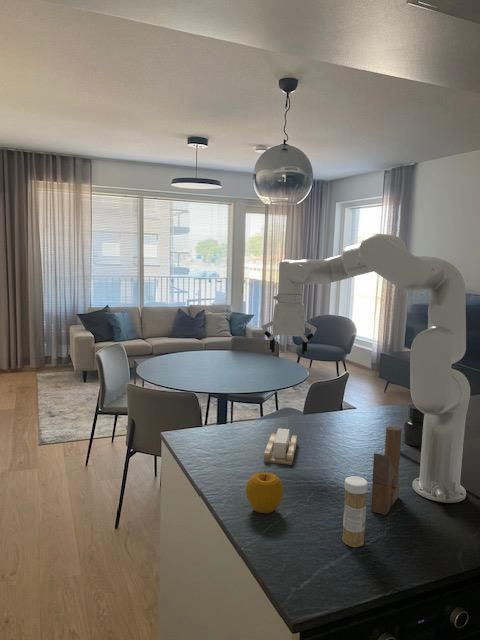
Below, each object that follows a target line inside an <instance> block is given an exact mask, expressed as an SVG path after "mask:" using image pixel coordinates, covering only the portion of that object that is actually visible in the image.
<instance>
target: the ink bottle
mask: <svg viewBox="0 0 480 640" xmlns="http://www.w3.org/2000/svg"><path fill="white" fill-rule="evenodd" d="M407 410H408V411H407V413H408V414H407V417H408V418H406V419H405V420H404V423H403V434H402V437H403V442H404V443H405V444H407V445H409V446H413V447H416V448H417V447H418V448H422V435H423V423H424V415H425V414H424V413H422V412H421V411H420V410H418V409H417V407H416V406H415V405H414V403H410V404H409V405H408V409H407Z"/></svg>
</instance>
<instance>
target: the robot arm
mask: <svg viewBox="0 0 480 640" xmlns="http://www.w3.org/2000/svg"><path fill="white" fill-rule="evenodd" d="M407 249H408V248H407V245H406V243H405V241H404V240H403V238H401V237H399V236H398V235H393V234H386V233H385V234H384V233H373V234H371V235H368V236H366V237H365V238H364V239H362V241H361V242H359V243H355V244H351V245H348V246H347V247H345V248H344V249H343V251H342V254H341V255H337V256H334V257H329V258H326V259H309V258H308V259H300V260H299V259H282V260H281V261H280V262H279V263H278V264H279V265H278V283H277V284H278V285H277V286H278V288H277V289H278V293H277V294H274V295H273V297H272V299H273V300H276V301H277V302H275V304H274V308H273V314H272V315H273V316H272V321H270V322H267V323H265V324H262V326H261V328H262V331H263V333H264V336H266V337H267V338H268V340H269V350H271V353H272V354H274V353H275V351H276V339H275V338H276V337H277V336H282V337H283V336H284V337H285V336H288V337H300V338H301V339H302V342H301V343H302V344H301V355H302V356H303V355H305V354H306V352H308V342H309V341H311V339H312V338H313V337H314V335H315V333H316V332H317V327H315V326H314V325H312V324H310V323H309V322H307V321H306V310H305V309H306V308H305V304H304V303H303V285H305V286H307V285H326V284H331V283H334V282H339V281H343V280H347V279H350V278H354V277H356V276H357V277H358V276H361V275H365V274H369V273H373V272H374V273H375V274H377V275H379V276H380V277H382V278H383V279H384V280H386V281H388V282H389V283H391V284H393V285H394V286H395V287H397V288H398V289H400V290H403V291H407V292H411V293H412V292H415V293H416V292H424V291H428V292H429V293H430V297H429V303H428V308H427V317H428V318H427V320H428V321H427V328H426V329H424V330H422V331H420V332H419V333H418V334H417V335H416V336H415V337H414V338H413V341H412V343H411V346H410V352H409V355H410V356H409V367H410V368H409V371H410V372H409V375H410V376H409V380H410V381H409V383H410V385H409V388H410V389H409V390H410V391H409V392H410V397H411V400H412V404H414V405H415V406H416V407H417V409H418V410H420V411H421V412H422V413H424V414H425V415H424V423H423V435H422V447H421V448H420V449H421V451H420V452H421V453H420V465H419V477H416V478H415V479H413V481H412V490H414V492H415V493H416V494H418V495H419V496H421V497H423V498H425V499H428V500H431V501H434V502H438V503H446V504H447V503H448V504H453V503H459V502H461V501H464V500H465V499H466V497H467V492H466V489H465V487H464V486H462V485H461V475H462V463H463V449H464V437H465V428H466V418H467V412H468V408H469V403H470V398H471V386H470V383H469V382H470V381H469V380H468V378H467V377H466V376H465V374H464V373H463V372H461V371H459V370H457V369H454V368H452V365H453V364H455V363H457V362H459V361H460V360H462V358H463V357H464V356H465V354H466V351H467V316H466V315H467V314H466V311H467V310H466V305H467V304H466V303H467V301H466V299H467V298H466V297H467V296H466V295H467V294H466V293H467V291H466V283H465V279H464V277H463V275H462V272H461V271H460V270H459V269H458V268H457V267H456V266H455V265H454V264H453V263H451V262H449V261H447V260H445V259H442V258H440V257H436V256H427V255H426V256H425V255H423V256H422V255H421V256H420V255H419V256H418V255H414V254H412V253H410V252H408V250H407ZM271 326H272V330H271V331H272V332H270V331H269V330H268V328H270V327H271ZM306 328H307V329H309V330H310V333H308V334H307V335H306V333H305V332H306Z"/></svg>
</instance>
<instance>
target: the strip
mask: <svg viewBox="0 0 480 640" xmlns="http://www.w3.org/2000/svg"><path fill="white" fill-rule="evenodd" d="M275 434H276V437H275V440H274V450H273V457H276V458H286V454H287V449H288V445H289V441H290V429H289V428H281V427H280V428H279V427H278V428H277V431H276V433H275Z"/></svg>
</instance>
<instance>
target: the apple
mask: <svg viewBox="0 0 480 640" xmlns="http://www.w3.org/2000/svg"><path fill="white" fill-rule="evenodd" d="M245 494H246V497H247V500H248V503H249V505H250V507H251V508H252V509H253V511H255V512H257V513H261V514H271V513H272V512H274V511H275V510H276V509H277V508H278V506H279V505H280V504H281V501H282V498H283V496H284V495H283V494H284V486H283V483H282V481H281V479H280V478H279V477H278V476H277V475H276V474H274V473H271V472H265V471H264V472H263V471H261V472H257V473H254V474H252V475H251V476H250V477H249V479H248V480H247V482H246V485H245Z"/></svg>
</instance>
